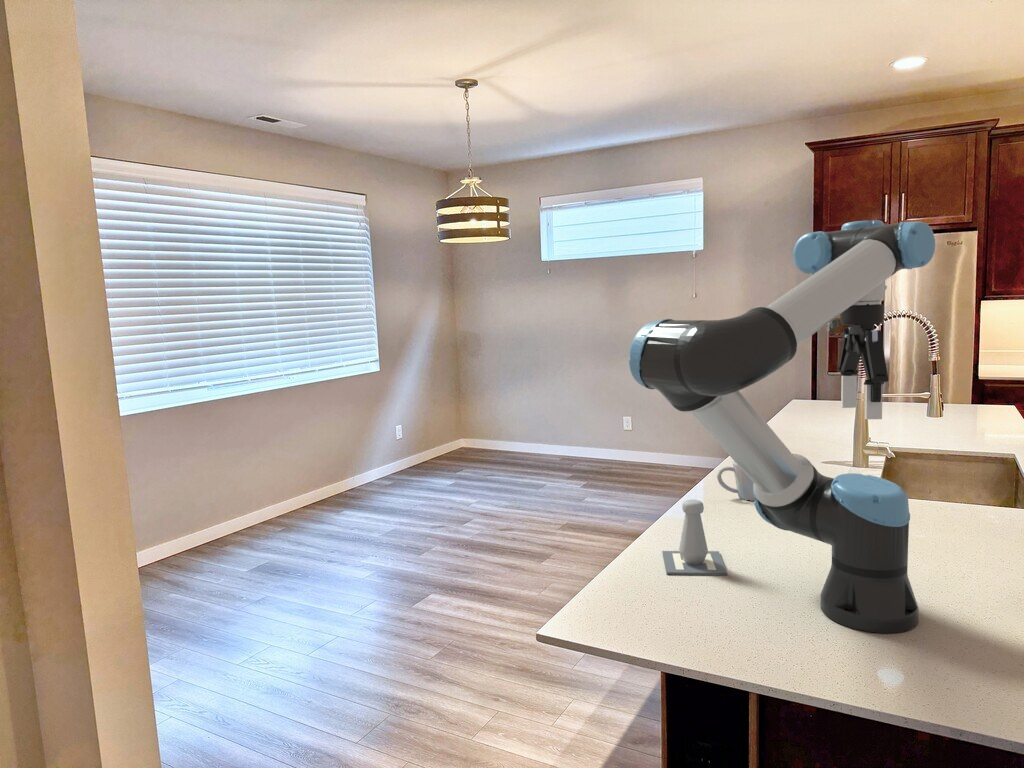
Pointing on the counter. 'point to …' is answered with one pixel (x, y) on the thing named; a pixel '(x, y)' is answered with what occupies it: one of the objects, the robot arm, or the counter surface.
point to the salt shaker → (693, 534)
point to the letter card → (680, 567)
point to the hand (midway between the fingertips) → (860, 413)
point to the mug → (738, 482)
